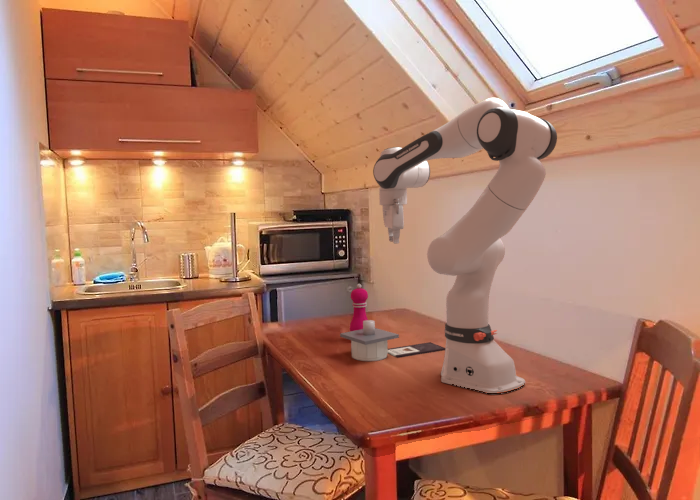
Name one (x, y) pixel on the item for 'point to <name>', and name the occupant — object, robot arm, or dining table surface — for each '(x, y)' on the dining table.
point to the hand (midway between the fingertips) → (393, 242)
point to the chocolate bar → (415, 349)
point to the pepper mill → (358, 308)
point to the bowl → (369, 351)
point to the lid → (369, 334)
